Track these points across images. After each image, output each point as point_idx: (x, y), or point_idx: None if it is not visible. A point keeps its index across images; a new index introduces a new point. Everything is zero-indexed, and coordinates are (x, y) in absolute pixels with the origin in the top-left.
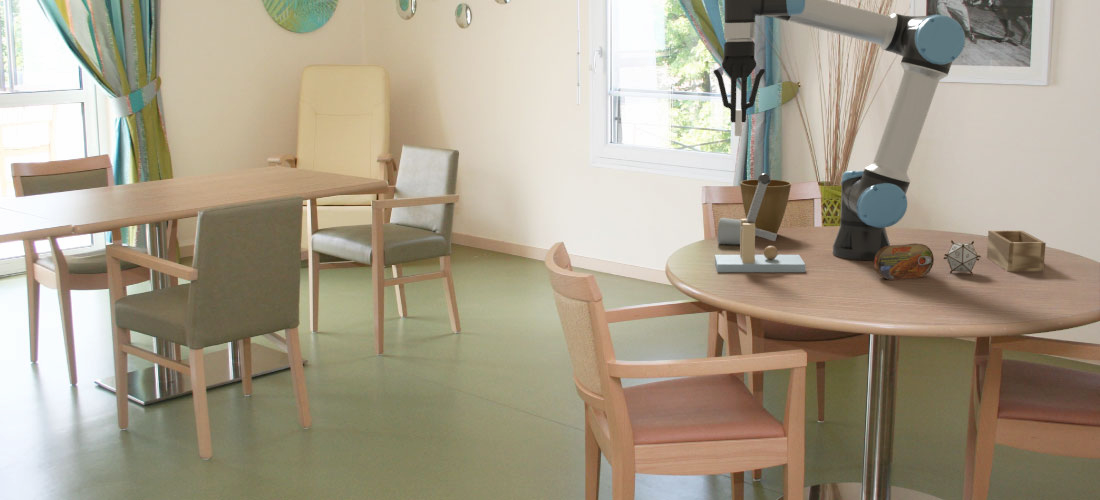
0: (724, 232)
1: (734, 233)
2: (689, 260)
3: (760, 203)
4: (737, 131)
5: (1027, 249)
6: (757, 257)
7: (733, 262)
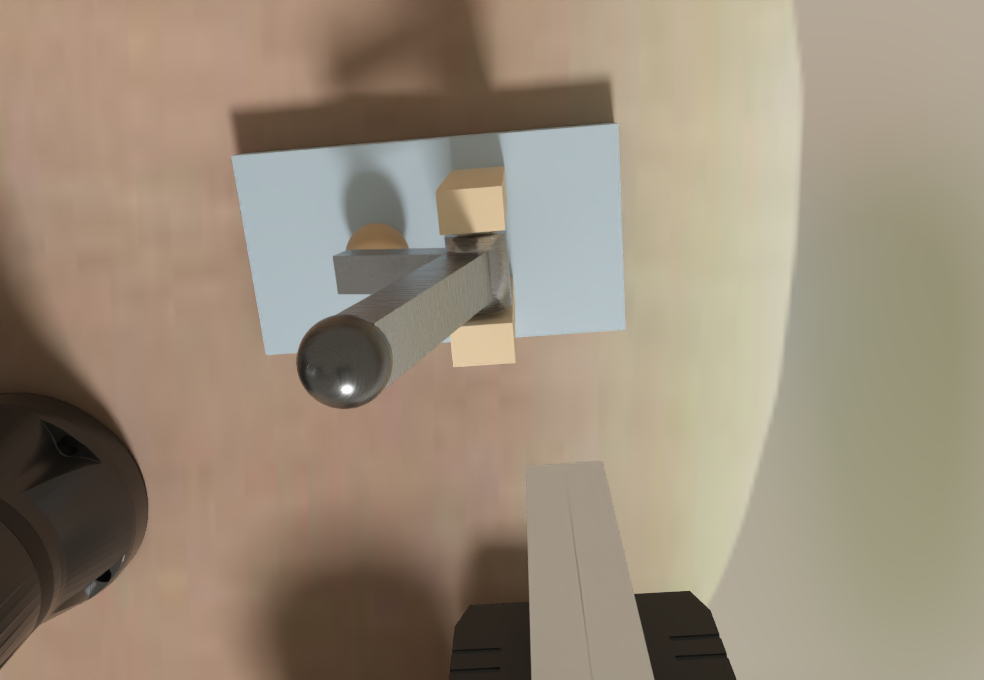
0: None
1: None
2: (727, 346)
3: (394, 284)
4: (581, 490)
5: None
6: None
7: (545, 172)
